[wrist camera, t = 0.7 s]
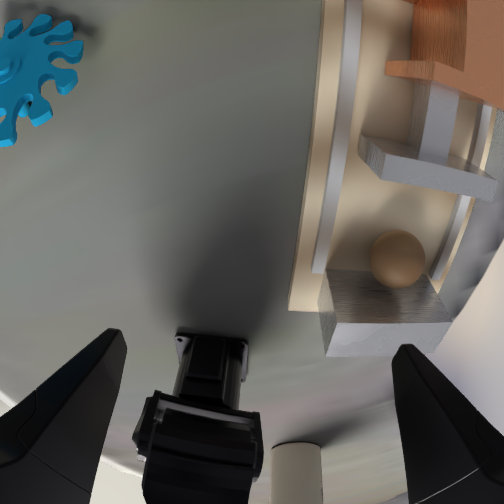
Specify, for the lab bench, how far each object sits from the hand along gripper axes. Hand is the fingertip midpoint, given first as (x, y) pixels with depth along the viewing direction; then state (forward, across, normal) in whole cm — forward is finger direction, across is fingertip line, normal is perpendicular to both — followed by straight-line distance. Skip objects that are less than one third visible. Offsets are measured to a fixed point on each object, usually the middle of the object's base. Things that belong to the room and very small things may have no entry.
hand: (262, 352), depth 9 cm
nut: (+11, -8, +2) cm, 14 cm away
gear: (+12, +16, -10) cm, 22 cm away
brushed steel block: (+11, -8, +6) cm, 15 cm away
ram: (+10, -8, -9) cm, 16 cm away
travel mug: (+13, -8, +41) cm, 44 cm away
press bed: (+12, -8, -3) cm, 15 cm away
